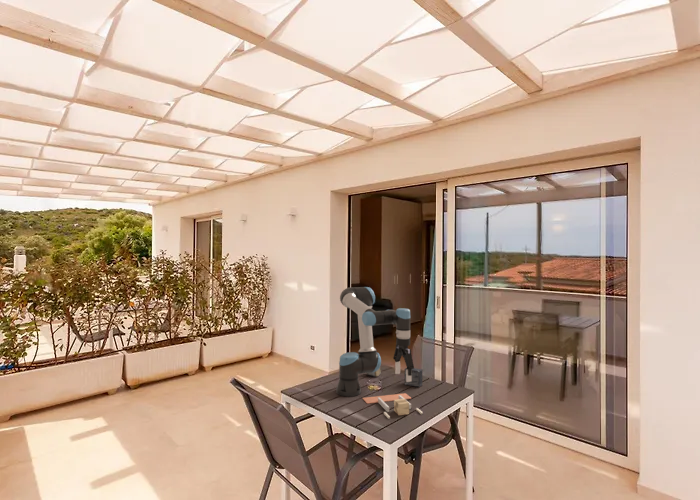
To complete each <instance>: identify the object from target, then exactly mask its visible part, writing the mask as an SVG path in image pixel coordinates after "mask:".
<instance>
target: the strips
mask: <svg viewBox="0 0 700 500" xmlns="http://www.w3.org/2000/svg"><path fill="white" fill-rule="evenodd" d="M415 411H416V412H418V413H419V414H420V415H423V414H424V413H423V411H422V410H421V409H420V408H418V407H415ZM383 415H384V416H385V417H386V418H387V419H391V416H390V415H389V414H388V412H387V411H383Z"/></svg>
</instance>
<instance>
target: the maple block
mask: <svg viewBox="0 0 700 500" xmlns="http://www.w3.org/2000/svg"><path fill="white" fill-rule="evenodd" d="M406 400H407V399H406ZM406 400H405V399H398V400H394V401H393V411H394V412H395V414H396V415H397V416H405V415H409V414H410V409H409V403H410V402H409V401H408V400H407V401H408V402H407V401H406Z"/></svg>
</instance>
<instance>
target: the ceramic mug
mask: <svg viewBox="0 0 700 500" xmlns="http://www.w3.org/2000/svg"><path fill="white" fill-rule="evenodd" d="M381 372H382V371H381V367H380V368H379V370H378V371H375V372H372V373H371V372H369V373H366V375H367V376H372V377H379V375H381Z"/></svg>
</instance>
